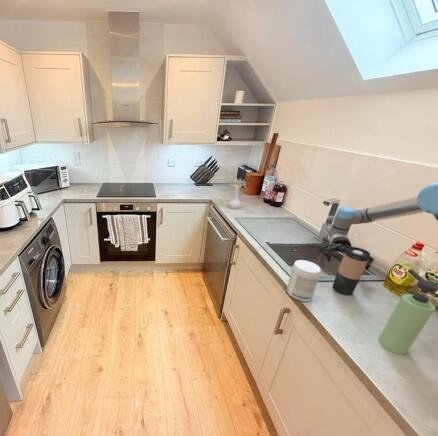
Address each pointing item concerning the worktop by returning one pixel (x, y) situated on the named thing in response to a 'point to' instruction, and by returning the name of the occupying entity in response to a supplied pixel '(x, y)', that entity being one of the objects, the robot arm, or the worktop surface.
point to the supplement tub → (303, 280)
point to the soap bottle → (406, 323)
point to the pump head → (424, 283)
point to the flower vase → (236, 192)
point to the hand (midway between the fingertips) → (348, 263)
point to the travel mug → (350, 270)
